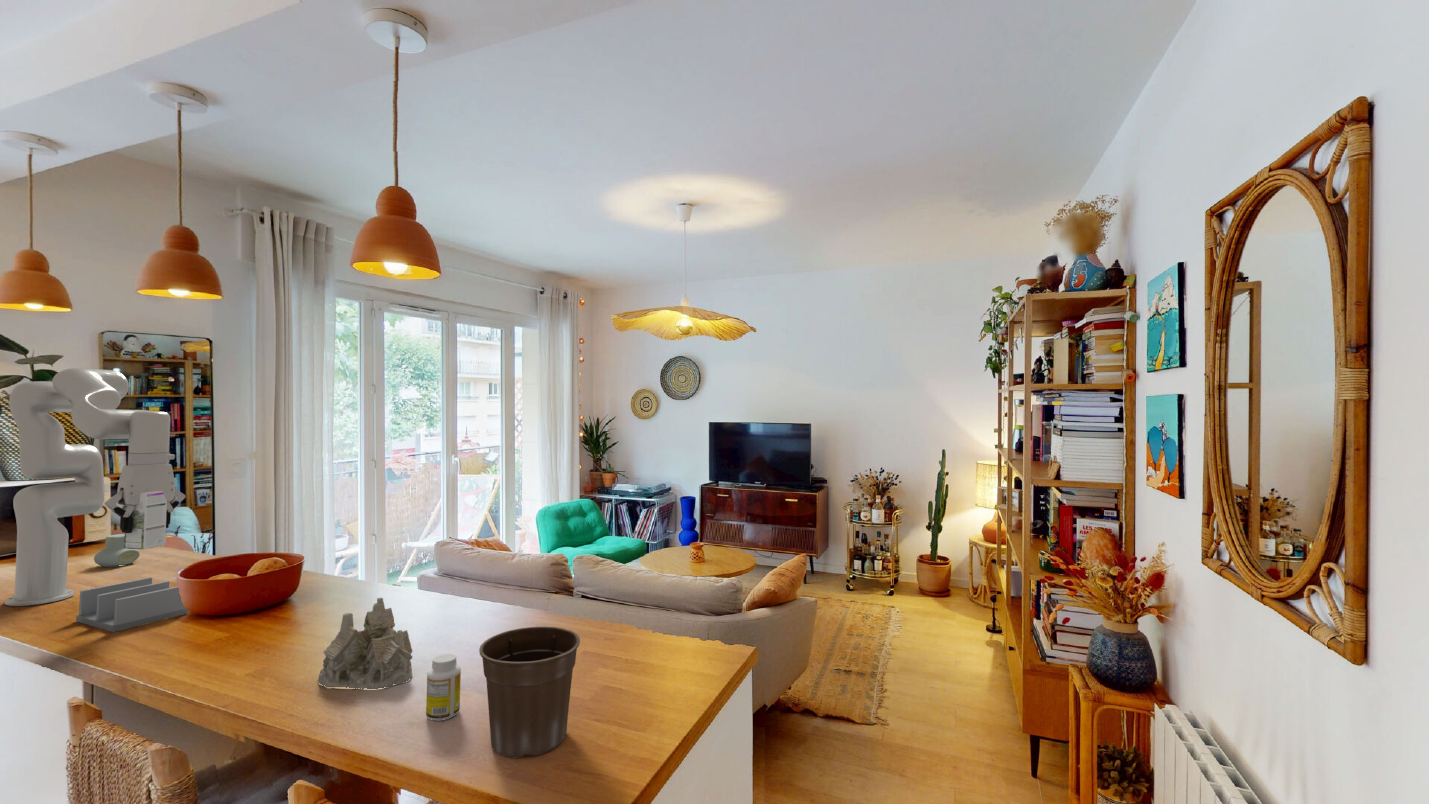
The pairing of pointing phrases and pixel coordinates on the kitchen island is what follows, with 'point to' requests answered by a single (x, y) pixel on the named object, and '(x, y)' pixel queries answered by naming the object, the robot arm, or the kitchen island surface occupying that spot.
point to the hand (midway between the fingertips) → (145, 529)
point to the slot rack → (129, 604)
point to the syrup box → (148, 522)
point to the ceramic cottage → (368, 653)
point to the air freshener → (116, 552)
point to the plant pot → (529, 688)
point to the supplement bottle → (443, 688)
